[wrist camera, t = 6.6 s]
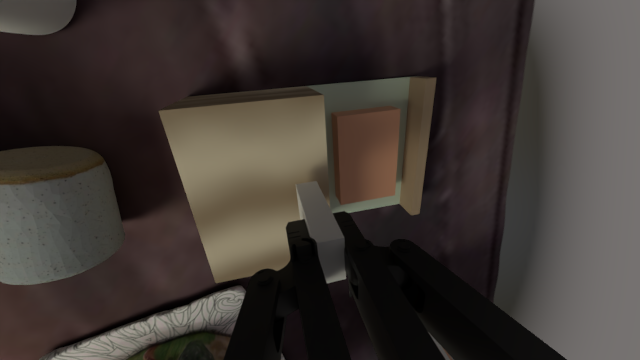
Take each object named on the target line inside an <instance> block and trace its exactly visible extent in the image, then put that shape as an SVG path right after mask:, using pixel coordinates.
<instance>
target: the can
mask: <svg viewBox="0 0 640 360" xmlns="http://www.w3.org/2000/svg"><path fill="white" fill-rule="evenodd" d="M75 9H76V0H0V32H9V33H18V34H27V35H47V34H51V33H54V32H57V31H59V30H61V29H62V28H64V27H65V26H66V25H67V24H68V23H69V22H70V20H71V19H72V17H73V15H74V12H75Z"/></svg>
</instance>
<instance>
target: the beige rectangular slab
mask: <svg viewBox="0 0 640 360" xmlns="http://www.w3.org/2000/svg"><path fill="white" fill-rule="evenodd" d="M159 114H160V117H161V120H162V123H163V126H164V129H165V132H166V135H167V138H168V141H169V144H170V147H171V150H172V153H173V156H174V159H175V162H176V165H177V168H178V171H179V174H180V177H181V180H182V183H183V186H184V189H185V192H186V195H187V198H188V201H189V204H190V207H191V210H192V213H193V216H194V219H195V222H196V225H197V228H198V231H199V234H200V237H201V240H202V243H203V246H204V249H205V252H206V255H207V258H208V261H209V264H210V267H211V270H212V273H213V276H214V279H215V282H216V283H220V282H225V281H229V280H234V279H239V278H244V277H248V276H253V275H254V274H255V273H256V272H258V271H260V270H262V269H267V268H269V269H274V270H275V271H277V270H280V269H282V268H284V267H285V266H286V265H287V264H288V263H289V261H290V251H289V245H288V239H287V233H286V226H287V224H288V222H292V221H297V220H301V219H300V215H299V207H298V199H297V192H296V184H301V183H307V182H313V181H317V183H318V185H319V187H320V189H321V191H322V193H323V195H324V197H325V199H326V201H327V203H328V205H329V207H330V197H329V179H328V161H327V143H326V124H325V106H324V95H323V94H321V93H319V92H317V91H315V90H313V89H311V88H309V87H307V86H300V87H289V88H278V89H267V90H256V91H244V92H233V93H222V94H211V95H200V96H188V97H186V98H184V99H182V100H180V101H178V102H175V103H173V104H171V105H169V106H167V107H165V108H163V109H161V110H159Z"/></svg>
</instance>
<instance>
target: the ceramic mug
mask: <svg viewBox="0 0 640 360" xmlns="http://www.w3.org/2000/svg"><path fill="white" fill-rule="evenodd" d="M124 238H125V233H124V229H123V225H122V221H121V217H120V212H119V208H118V204H117V200H116V196H115V192H114V187H113V181H112V177H111V174H110V170H109V168H108V166H107V164H106V162H105V160H104V158H103V157H102V156H101V155H100V154H98V153H97V152H95V151H92V150H90V149H87V148H81V147H73V146H41V147H29V148H19V149H12V150H6V151H0V282H3V283H6V284H12V285H31V284H39V283H46V282H50V281H55V280H59V279H63V278H67V277H71V276H73V275H76V274H79V273H81V272H84V271H86V270H88V269H90V268H92V267H94V266H96V265H98V264H100V263H102V262H103V261H105V260H106V259H108V258H109V257H111V256H112V255H113V254H114V253H115V252H116V251H117V250H118V249H119V248H120V247H121V245H122V244H123V241H124Z"/></svg>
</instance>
